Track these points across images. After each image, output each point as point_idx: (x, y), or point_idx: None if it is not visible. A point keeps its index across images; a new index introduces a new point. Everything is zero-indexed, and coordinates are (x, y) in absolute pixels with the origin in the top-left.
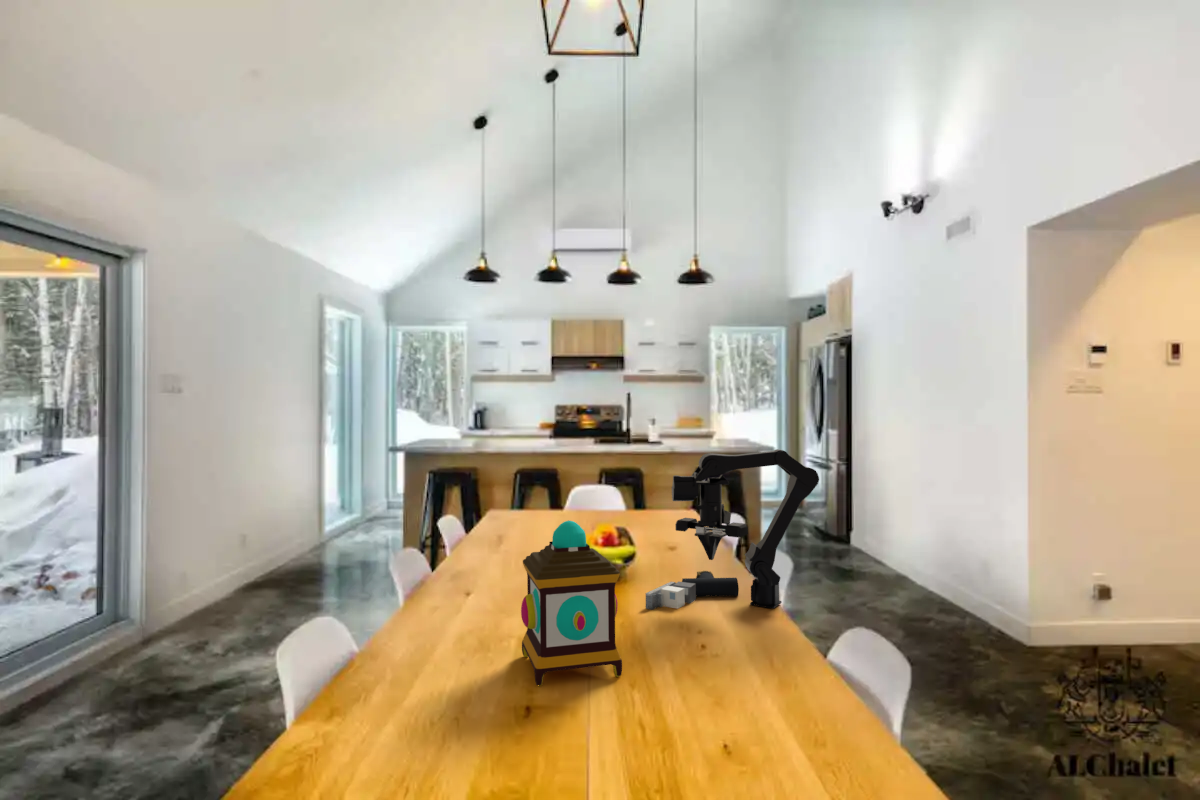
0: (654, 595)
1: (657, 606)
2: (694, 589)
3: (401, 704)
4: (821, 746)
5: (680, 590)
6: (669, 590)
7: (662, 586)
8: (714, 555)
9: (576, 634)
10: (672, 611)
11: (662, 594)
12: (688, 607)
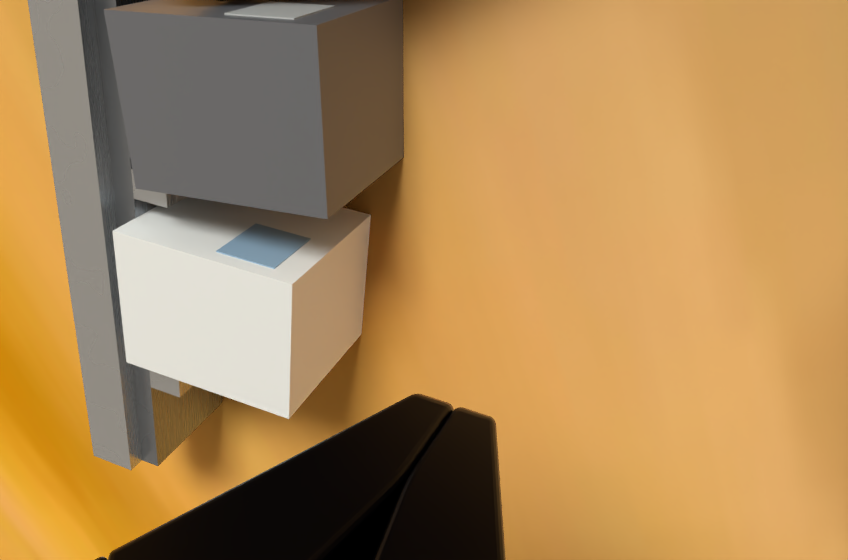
0: (156, 435)
1: None
2: (349, 64)
3: None
4: None
5: (291, 367)
6: (209, 390)
7: (75, 224)
8: (497, 496)
9: None
10: (356, 408)
11: None
12: (429, 280)
